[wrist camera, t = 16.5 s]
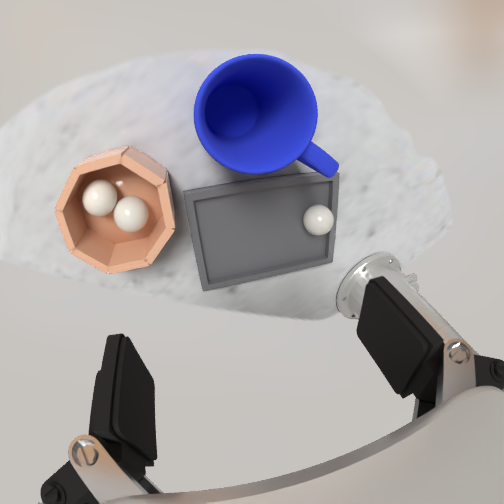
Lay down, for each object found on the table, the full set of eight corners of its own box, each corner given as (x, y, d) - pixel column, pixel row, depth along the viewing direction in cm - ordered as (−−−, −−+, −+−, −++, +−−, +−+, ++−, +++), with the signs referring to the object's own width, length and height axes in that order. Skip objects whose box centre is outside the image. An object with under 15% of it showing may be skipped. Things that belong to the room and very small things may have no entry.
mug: (271, 182, 29) (313, 220, 21) (170, 126, 23) (168, 136, 15) (312, 121, 26) (371, 135, 18) (218, 56, 21) (243, 30, 12)
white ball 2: (133, 182, 24) (157, 203, 24) (134, 205, 27) (155, 225, 26) (104, 201, 22) (127, 225, 22) (108, 224, 25) (129, 246, 24)
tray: (333, 170, 30) (339, 173, 29) (328, 257, 36) (332, 262, 35) (183, 191, 27) (184, 194, 26) (201, 285, 33) (202, 291, 32)
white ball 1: (120, 174, 23) (102, 178, 20) (126, 209, 24) (108, 218, 21) (92, 180, 24) (72, 185, 20) (98, 214, 25) (79, 222, 21)
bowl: (162, 137, 24) (160, 144, 19) (180, 234, 29) (182, 259, 25) (64, 163, 21) (44, 177, 17) (91, 254, 27) (81, 279, 23)
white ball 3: (325, 198, 31) (340, 209, 28) (323, 224, 33) (338, 237, 30) (298, 202, 31) (311, 214, 28) (297, 229, 32) (310, 243, 30)
